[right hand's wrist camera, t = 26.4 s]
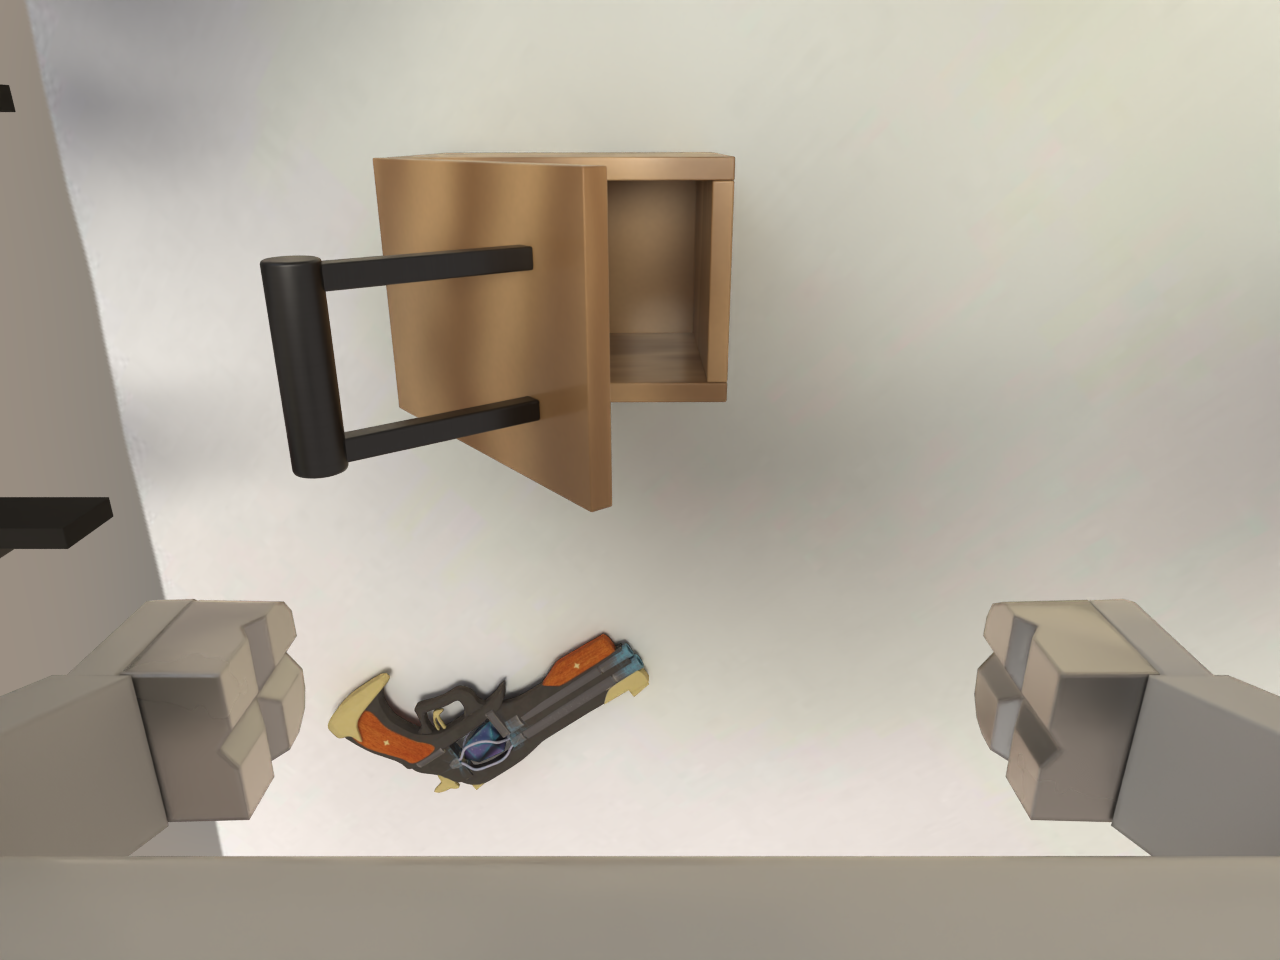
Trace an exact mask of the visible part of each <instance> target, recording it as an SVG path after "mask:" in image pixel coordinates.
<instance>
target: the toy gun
mask: <svg viewBox="0 0 1280 960" xmlns="http://www.w3.org/2000/svg"><path fill="white" fill-rule="evenodd" d="M643 667H644V665H643V662H642V660H641V659H640V657H639V656H638V655H637V654H634V655H633V651H632V649H631V647H630V646H629V645H628V644H627V643H625V644H624V645H622V644H621V643H620V644H619V645H617V646H615V645H614V644H613V642H612V641H611V640H610V638H609V637H608V636H606V635H605V634H602V635H600V636H599V637H597V638H595V639H593V640H592V641H590V642H588V643H586V644H584V645H583V646H581V647H579V648H578V649H576V650H574V651H573V652H571V653H569V654H568V655H566V656H564V657H562V658H561V659H559V660H558V661H557V662H556V663H555V664H554V666H553V667H552V669H551V670H550V672H549V673H548V675H547V676H546V678H545V679H544V681H543V682H542V683H540V684H538V685H537V686H535V687H534V688H532V689H530V690H529V691H527V692H525V693H523V694H522V695H520V696H517V697H514V698H511V699H507V700H503V699H504V696H505V689H506V682H505V681H503V682H502V683H501V685H500V686H499V687H498V688H497V690H496V691H495V692H494V693H493V694H492V695H491V696H489V697H488V698H487V699H486V700H483V699H480V698H479V697H478V696H477V694H476V693H475V692H474V691H473V690H472V689H470V688H469V687H466V686H462V685H460V686H457V687H455V688H453V689H452V690H450V691H449V692H447V693H445V694H443V695H441V696H438V697H435V698H431V699H427V700H424V701H420V702H418V703H417V705H416V707H415V712H416V714H417V716H418V717H419V719H420V722H421V726H417V725H415V724H412V723H410V722H409V721H407V720H405V719H403V718H401V717H400V716H398V715H396V714H395V713H394V712H393V711H392V709H391V708H390V706H389V705H388V703H387V701H386V699H385V698H384V695H383V687H384V686H385V685H386V684H387V682H388V680H389V679H390V676H389V675H388V674H387V673H383V674H380V675H378V676H376V677H375V678H373V679H371V680H370V681H368V682H367V683H365V684H364V685H362V686H361V687H359V688H358V689H356V690H355V691H354V692H352V693H351V694H350V695H349V696H348V697H347V698H346V699H345V700H344V701H343V702H342V703H341V704H340V706H339V707H338V709H337V710H336V711H335V713H334V714H333V716H332V717H331V719H330V721H329V723H328V729H329V730H330V731H331V732H332V733H333V734H334V735H335V736H336V737H338V738H344V737H345V738H346V739H348V740H349V741H351V742H353V743H354V744H356V745H358V746H360V747H361V748H363V749H365V750H367V751H370V752H372V753H374V754H377V755H380V756H383V757H386V758H389V759H392V760H395V761H397V762H399V763H401V764H403V765H404V766H405V767H406V768H407V769H413V770H415V771H417V772H420V773H426V774H434V775H438V777H439V779H440V780H441V783H440V784H439V785H438V786H437V787H436V789H435V791H434V792H438V793H440V792H444V791H446V790H448V789H451V788H453V789H456V788H459V786H460V784H459V783H458V782H463V783H466V784H471V785H473V786H474V788H475V789H476V790H477V789H478V788H479V787H481V786H482V785H483V784H484V783H486V782H488V781H490V780H492V779H493V778H495V777H496V776H498V775H500V774H501V773H503V772H505V771H506V770H508V769H509V768H511V767H513V766H514V765H516V764H517V763H518V762H520V761H521V760H523V759H524V758H525V757H526V756H527V755H528V754H530V753H531V752H532V751H533V750H534V749H535V748H536V747H537V746H538V745H539V744H540V743H541V742H542V741H544V740H545V739H547V738H548V737H550V736H551V735H553V734H555V733H556V732H558V731H560V730H561V729H563V728H564V727H566V726H568V725H569V724H571V723H572V722H574V721H576V720H577V719H579V718H581V717H582V716H584V715H585V714H587V713H589V712H590V711H592V710H594V709H596V708H597V707H599V706H601V705H603V704H606V703H607V702H609V701H611V700H613V699H614V698H616V697H618V696H619V695H621V694H623V693H625V692H626V691H628V690H629V691H630V692H631V694H632V695H633V696H634V697H635V696H636V695H637V694H638V693H639V692H640V691H642V690H643V689H644V688H645V687H646V686H647V685H649V683H648V681H649V675H648V674H647V672H646V671H645V670H644V669H643ZM454 701H460V702H461V703H462V704H463V706H464V711H465V714H463V715H461V716H460V717H458V718H457V719H455V720H454V721H452V722H450V723H449V724H447V725H445V723H444V722H443V721H442V719H441V718H440V714H441V712H442V711H443V710H444V709H443V708H441V707H444V706H447V705H449V704H451V703H452V702H454ZM438 708H440V709H438ZM431 710H434V712H433V721H434V725H435V727H434V726H433V725H432V723H431V722H430V721H429V719H428V716H427V712H429V711H431ZM436 718H437V720H438V722H439V723H440V725H441V726H442V727H439V725H438V724H437V722H436ZM487 719H489V721H488V722H484V721H486V720H487ZM481 724H483V725H481ZM480 725H481V726H480ZM478 726H480V727H479V728H478V729H477V731H476V732H475V733H474V734H473V736H472V737H471V738H470V739H469V740H468V742H467V743H466V740H467V737H468V736H469V734H470V733H471V731H473V730H474V729H475V728H477V727H478ZM465 735H466V736H465ZM464 736H465V738H464V742H463V749H462V748H460V747H459V746H458V744H457V743H456V741H457V740H459V739H460V738H462V737H464ZM508 737H509V738H508ZM508 740H510V741H511V743H512V745H511V746H510V748H509V749H508V750H507V751H505V752H504V753H502V754H501V755H499V756H498V757H496V758H494V759H492V760H490V761H488V762H485V763H482V764H478V765H474V764H473V763H472V762H471V761H470V760H472V761H477V762H481V761H483V760H485V759H488V758H490V757H492V756H494V755H497V754H499V753H501V752H503V751H504V749H505V746H506V742H507V741H508ZM465 743H466V744H465Z"/></svg>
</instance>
